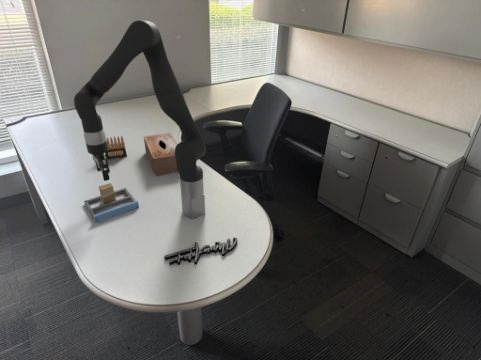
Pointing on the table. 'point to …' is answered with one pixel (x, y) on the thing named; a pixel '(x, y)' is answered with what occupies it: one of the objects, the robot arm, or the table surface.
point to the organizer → (113, 211)
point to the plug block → (107, 193)
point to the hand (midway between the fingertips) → (103, 175)
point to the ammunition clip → (115, 148)
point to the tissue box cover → (161, 153)
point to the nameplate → (200, 252)
